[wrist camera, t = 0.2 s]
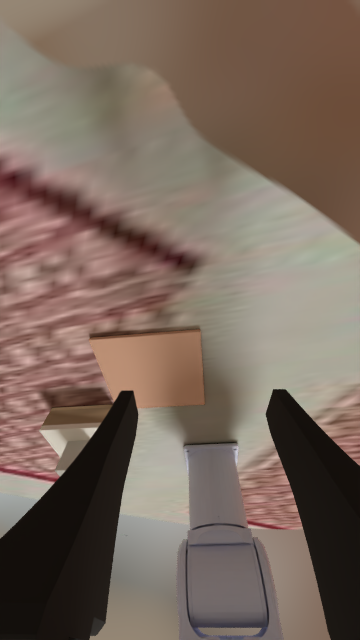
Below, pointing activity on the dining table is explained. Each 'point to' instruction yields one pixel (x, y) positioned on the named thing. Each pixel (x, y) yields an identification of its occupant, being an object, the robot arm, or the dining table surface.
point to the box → (77, 415)
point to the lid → (68, 441)
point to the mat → (153, 367)
